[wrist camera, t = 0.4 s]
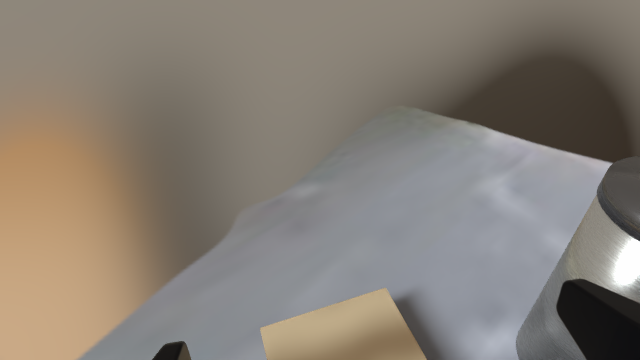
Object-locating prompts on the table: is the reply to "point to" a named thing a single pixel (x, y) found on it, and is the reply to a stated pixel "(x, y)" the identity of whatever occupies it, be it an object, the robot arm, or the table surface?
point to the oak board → (344, 333)
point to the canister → (591, 262)
